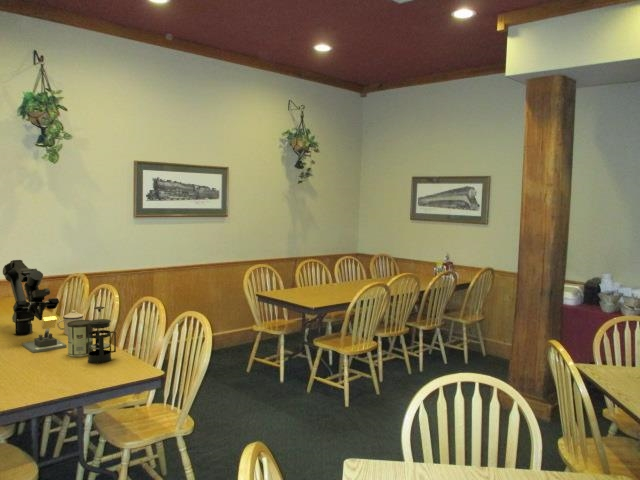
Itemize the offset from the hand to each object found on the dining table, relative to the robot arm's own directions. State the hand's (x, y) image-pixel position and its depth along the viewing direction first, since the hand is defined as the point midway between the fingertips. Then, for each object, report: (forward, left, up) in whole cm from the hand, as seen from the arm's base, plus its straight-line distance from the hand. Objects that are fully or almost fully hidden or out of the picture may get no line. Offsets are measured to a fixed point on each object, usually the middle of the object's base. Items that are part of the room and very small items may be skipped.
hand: (40, 319), depth 248 cm
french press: (+35, -25, -12) cm, 45 cm away
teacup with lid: (+6, +20, -12) cm, 24 cm away
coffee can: (+23, -15, -12) cm, 30 cm away
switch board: (+3, -4, -12) cm, 13 cm away
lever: (+4, -5, -7) cm, 10 cm away
